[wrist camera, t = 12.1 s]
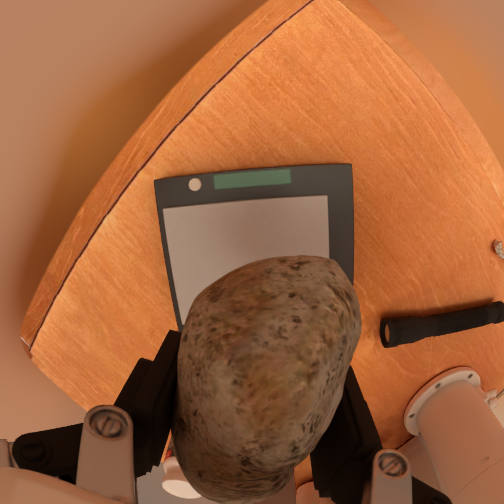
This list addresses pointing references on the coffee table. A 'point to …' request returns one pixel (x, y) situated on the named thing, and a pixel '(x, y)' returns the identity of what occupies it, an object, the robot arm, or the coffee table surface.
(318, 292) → the stone
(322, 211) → the scale
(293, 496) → the perfume bottle
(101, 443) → the robot arm
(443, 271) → the coffee table surface
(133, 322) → the coffee table surface
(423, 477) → the white product box
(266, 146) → the coffee table surface
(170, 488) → the pill bottle
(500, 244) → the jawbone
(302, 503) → the cup
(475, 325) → the flashlight
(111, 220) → the coffee table surface
